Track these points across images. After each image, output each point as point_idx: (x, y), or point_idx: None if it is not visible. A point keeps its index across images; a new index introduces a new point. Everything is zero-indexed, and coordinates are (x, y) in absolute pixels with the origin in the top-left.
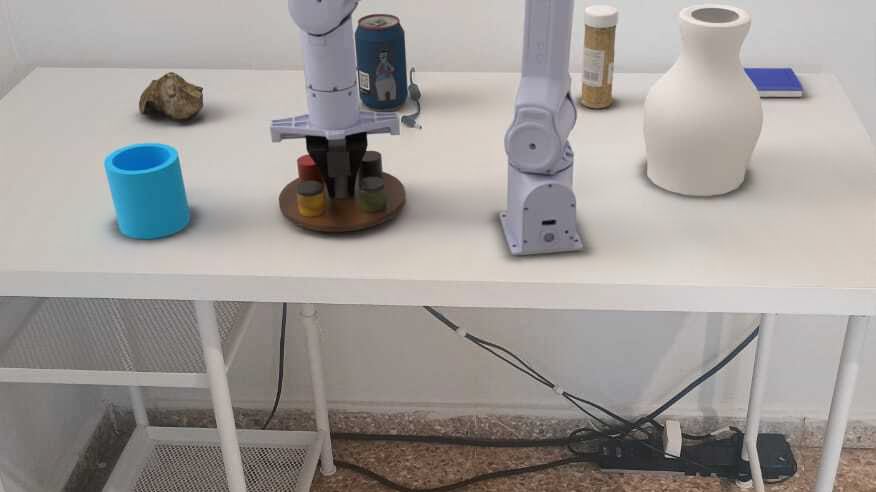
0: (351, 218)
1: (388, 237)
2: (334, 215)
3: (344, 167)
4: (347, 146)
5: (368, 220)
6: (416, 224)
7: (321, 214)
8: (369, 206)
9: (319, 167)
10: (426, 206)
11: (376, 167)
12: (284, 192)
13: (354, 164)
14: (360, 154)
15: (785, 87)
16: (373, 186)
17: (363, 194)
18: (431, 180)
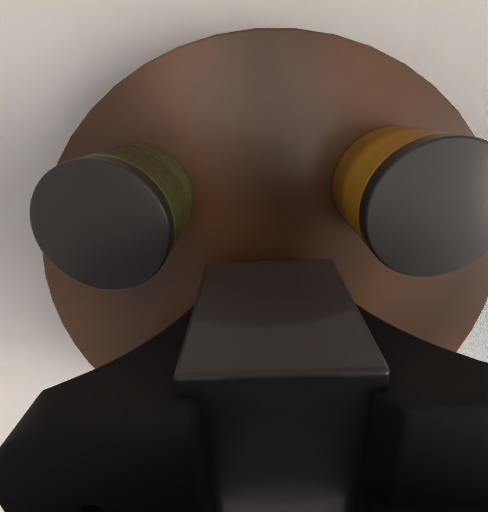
0: (223, 95)
1: (90, 44)
2: (296, 133)
3: (234, 289)
4: (171, 434)
5: (147, 69)
6: (11, 141)
7: (349, 145)
8: (142, 147)
9: (391, 330)
10: (11, 257)
11: None
12: (462, 323)
13: (179, 338)
14: (100, 375)
15: None
16: (79, 181)
17: (151, 168)
18: (37, 385)
